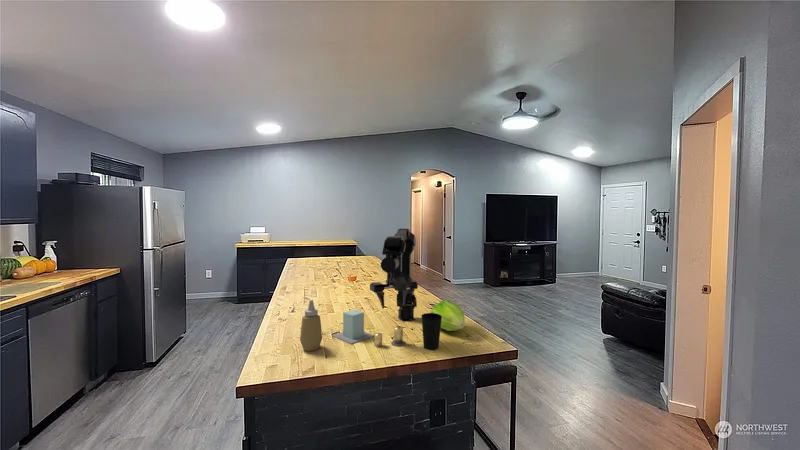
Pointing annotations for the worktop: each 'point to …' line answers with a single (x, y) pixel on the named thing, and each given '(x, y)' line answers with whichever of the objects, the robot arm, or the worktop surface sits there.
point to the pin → (378, 339)
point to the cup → (431, 330)
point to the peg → (398, 335)
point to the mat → (352, 341)
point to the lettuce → (449, 315)
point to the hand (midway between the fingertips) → (393, 307)
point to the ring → (398, 344)
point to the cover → (353, 324)
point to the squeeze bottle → (311, 329)
